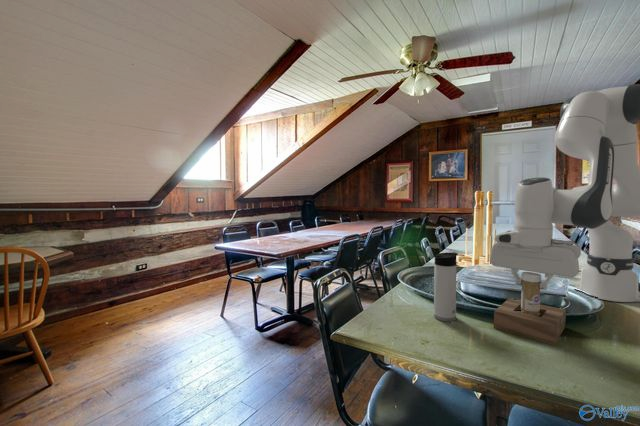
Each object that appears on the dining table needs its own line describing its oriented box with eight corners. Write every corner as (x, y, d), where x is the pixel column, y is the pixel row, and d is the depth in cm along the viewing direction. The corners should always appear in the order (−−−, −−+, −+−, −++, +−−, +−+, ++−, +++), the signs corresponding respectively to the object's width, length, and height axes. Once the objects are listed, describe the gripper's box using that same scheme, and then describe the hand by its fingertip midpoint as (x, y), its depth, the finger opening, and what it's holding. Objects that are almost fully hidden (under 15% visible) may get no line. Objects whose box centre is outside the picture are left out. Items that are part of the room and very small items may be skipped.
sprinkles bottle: (532, 325, 86) (534, 276, 85) (516, 318, 90) (517, 272, 89) (543, 321, 88) (545, 274, 87) (527, 315, 92) (528, 270, 91)
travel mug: (460, 321, 94) (461, 255, 93) (438, 321, 95) (438, 255, 93) (452, 313, 101) (452, 250, 99) (431, 313, 101) (431, 251, 99)
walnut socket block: (509, 313, 99) (509, 297, 99) (565, 327, 89) (565, 309, 89) (493, 328, 90) (494, 311, 89) (554, 345, 80) (555, 326, 79)
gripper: (583, 239, 82) (580, 292, 83) (496, 232, 97) (495, 277, 98) (579, 243, 78) (576, 298, 79) (488, 235, 92) (487, 282, 93)
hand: (530, 286), depth 88 cm, fingers closed on sprinkles bottle, 4 cm apart
